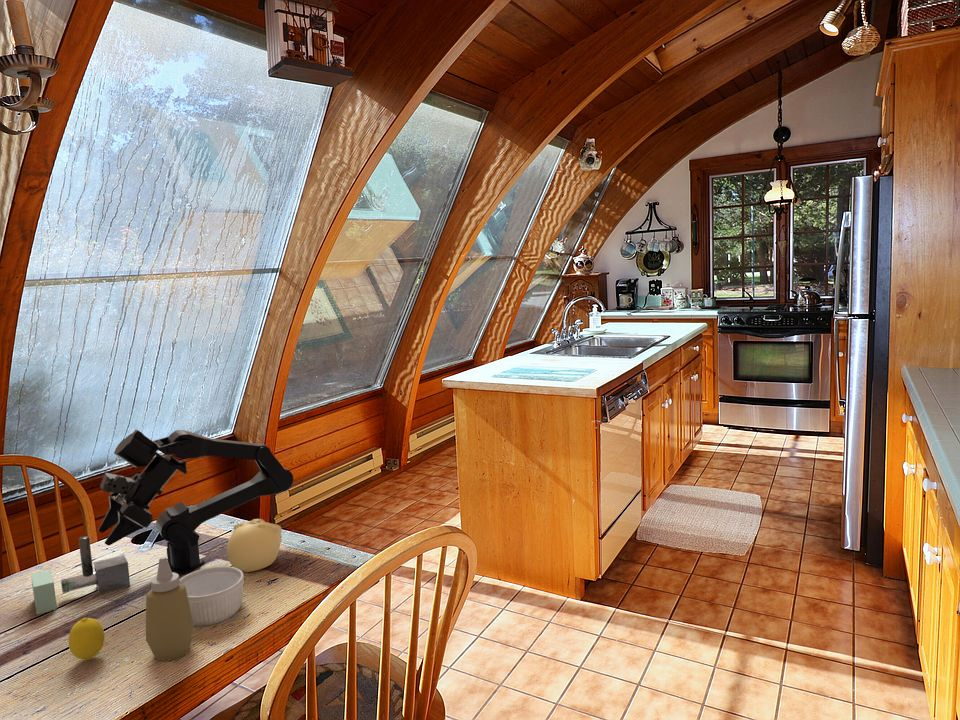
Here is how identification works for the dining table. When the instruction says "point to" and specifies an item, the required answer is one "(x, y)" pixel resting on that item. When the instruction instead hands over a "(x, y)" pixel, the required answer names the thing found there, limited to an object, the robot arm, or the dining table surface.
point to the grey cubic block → (112, 574)
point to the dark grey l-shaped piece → (87, 569)
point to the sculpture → (254, 545)
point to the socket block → (43, 591)
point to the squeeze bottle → (168, 615)
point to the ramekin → (213, 593)
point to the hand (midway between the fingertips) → (103, 537)
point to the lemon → (86, 638)
